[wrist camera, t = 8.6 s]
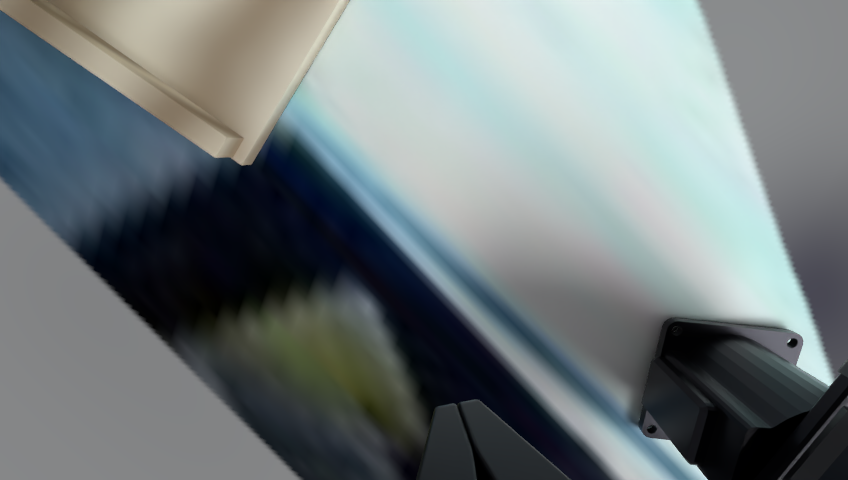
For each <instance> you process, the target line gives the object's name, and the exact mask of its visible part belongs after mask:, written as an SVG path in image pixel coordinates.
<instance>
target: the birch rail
mask: <svg viewBox="0 0 848 480" xmlns="http://www.w3.org/2000/svg"><path fill="white" fill-rule="evenodd" d="M349 1H350V0H0V10H1V11H3V12H4V13H6V14H7V15H8V16H10V17H11V18H13V19H14V20H16V21H17V22H19V23H20V24H21V25H23V26H24V27H26V28H27V29H29V30H30V31H32V32H33V33H35V34H36V35H37V36H39V37H40V38H42V39H43V40H45V41H46V42H48V43H49V44H51V45H52V46H53V47H55V48H56V49H58V50H59V51H61V52H62V53H64V54H65V55H67V56H68V57H69V58H71V59H72V60H74V61H75V62H77V63H78V64H80V65H81V66H83V67H84V68H85V69H87V70H88V71H90V72H91V73H93V74H94V75H96V76H97V77H99V78H100V79H101V80H103V81H104V82H106V83H107V84H109V85H110V86H112V87H113V88H114V89H116V90H117V91H119V92H120V93H122V94H123V95H125V96H126V97H128V98H129V99H130V100H132V101H133V102H135V103H136V104H138V105H139V106H141V107H142V108H144V109H145V110H146V111H148V112H149V113H151V114H152V115H154V116H155V117H157V118H158V119H160V120H161V121H162V122H164V123H165V124H167V125H168V126H170V127H171V128H173V129H174V130H176V131H177V132H178V133H180V134H181V135H183V136H184V137H186V138H187V139H189V140H190V141H192V142H193V143H194V144H196V145H197V146H199V147H200V148H202V149H203V150H205V151H206V152H207V153H209V154H210V155H212V156H213V157H215V158H222V157H230V158H232V159H233V160H235V161H236V162H237V163H239V164H240V165H251V164H252V163H253V161H254V160H255V158H256V156H257V155H258V153H259V151H260V150H261V148H262V146H263V145H264V143H265V141H266V140H267V138H268V136H269V135H270V133H271V131H272V130H273V128H274V126H275V125H276V123H277V121H278V119H279V118H280V116H281V114H282V113H283V111H284V109H285V108H286V106H287V104H288V103H289V101H290V99H291V98H292V96H293V94H294V93H295V91H296V89H297V88H298V86H299V84H300V83H301V81H302V79H303V78H304V76H305V74H306V73H307V71H308V69H309V68H310V66H311V64H312V63H313V61H314V59H315V58H316V56H317V54H318V53H319V51H320V49H321V48H322V46H323V44H324V43H325V41H326V39H327V38H328V36H329V34H330V33H331V31H332V29H333V28H334V26H335V24H336V23H337V21H338V19H339V18H340V16H341V14H342V13H343V11H344V9H345V8H346V6H347V4H348V3H349Z"/></svg>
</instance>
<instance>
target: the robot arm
mask: <svg viewBox="0 0 848 480" xmlns="http://www.w3.org/2000/svg"><path fill="white" fill-rule="evenodd" d="M675 326H678V329H677V330H676V331H675V332H672V329H673V328H674V327H675ZM789 339H791V341H790V342H789V343H787V342H788V340H789ZM802 346H803V338H802V337H801V336H800V335H799V334H797V333H795V332H793V331H791V330H785V329H775V328H766V327H756V326H747V325H738V324H728V323H719V322H709V321H700V320H690V319H681V318H670V319H668V320H666V321H665V322H664V324H663V326H662V330H661V334H660V338H659V343H658V347H657V351H656V355H655V358H654V359H653V360H652V362H651V366H650V370H649V374H648V378H647V382H646V386H645V391H644V395H643V399H642V404H643V408H642V412H641V416H640V420H639V428H640V430H641V431H642V433H643V434H644V435H645V436H646V437H649V438H657V439H666V440H671V442H672V443H673V444H674V445H675V447H676V448H677V449H678V451H679V452H680V453H681V454H682V456H683V457H684V458H685V460H686V461H687V462H688V463H689V464H691V465H697V467H698V468H699V469H700V470H701V472H702V473H703V474H704V475H705V477H706V478H707V479H708V480H848V360H846V361H845V363H844V364H843V365H842V366H841V367H840V369H839V370H838V372H840V375H839V376H838V377H837V378H836V379H835V381H834V382H833V383H832V384H831V386H830V387H829V386H827V385H826V384H824V383H823V382H821V381H819V380H818V379H816V378H815V377H813V376H811V375H810V374H808V373H806V372H805V371H803V370H802V369H800V368H798V367H797V366H796V364H797V361H798V358H799V355H800V352H801V349H802ZM650 425H653V426H652V427H651V428H648V426H650ZM416 480H570V479H569V478H568V477H567V476H566V475H565V474H564V473H562V472H561V471H560V470H559V469H558V468H557V467H556V466H554V465H553V464H552V463H551V462H550V461H549V460H547V459H546V458H545V457H544V456H543V455H542V454H541V453H539V452H538V451H537V450H536V449H535V448H534V447H533V446H531V445H530V444H529V443H528V442H527V441H526V440H524V439H523V438H522V437H521V436H520V435H519V434H518V433H516V432H515V431H514V430H513V429H512V428H511V427H510V426H508V425H507V424H506V423H505V422H504V421H503V420H501V419H500V418H499V417H498V416H497V415H496V414H495V413H493V412H492V411H491V410H490V409H489V408H488V407H487V406H485V405H484V404H483V403H482V402H481V401H479V400H477V399H475V400H469V401H464V402H459V403H458V406H457V405H456V404H447V405H441V406H437V407H436V408H435V410H434V413H433V417H432V421H431V425H430V429H429V433H428V436H427V440H426V444H425V448H424V452H423V455H422V459H421V463H420V467H419V471H418V475H417V478H416Z"/></svg>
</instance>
